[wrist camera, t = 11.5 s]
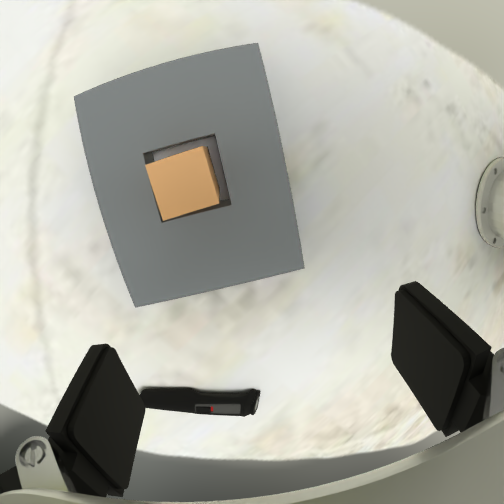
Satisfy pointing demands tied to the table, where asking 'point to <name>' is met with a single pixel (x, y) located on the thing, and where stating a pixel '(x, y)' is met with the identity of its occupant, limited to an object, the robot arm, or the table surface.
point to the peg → (184, 182)
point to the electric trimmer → (201, 401)
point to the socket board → (233, 161)
